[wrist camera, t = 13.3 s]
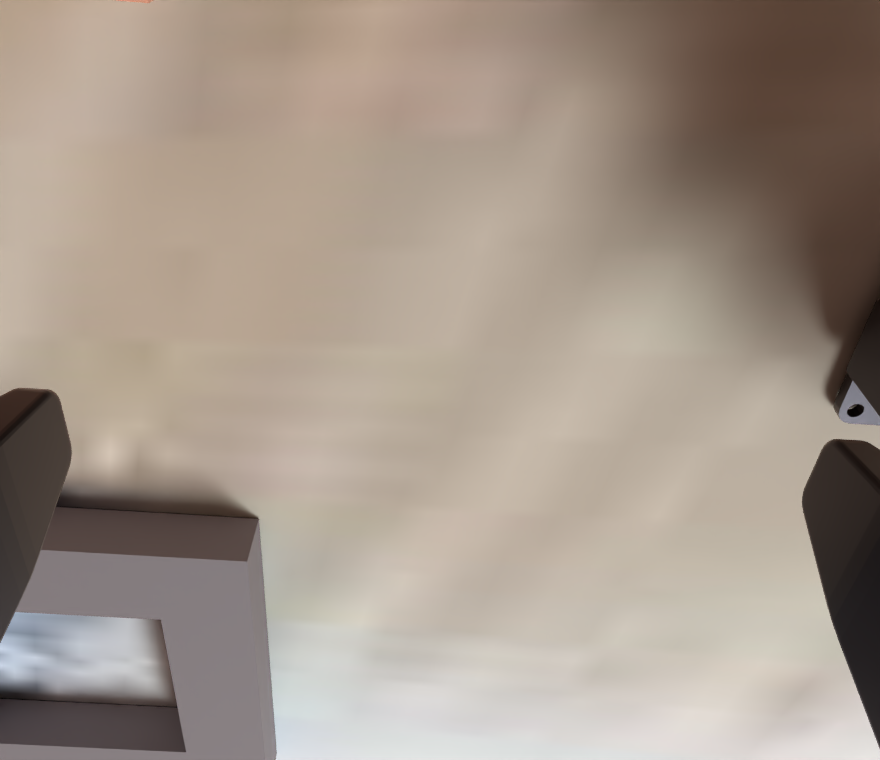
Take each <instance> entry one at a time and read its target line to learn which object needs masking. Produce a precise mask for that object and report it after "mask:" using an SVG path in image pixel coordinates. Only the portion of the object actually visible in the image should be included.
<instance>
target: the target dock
mask: <svg viewBox="0 0 880 760" xmlns="http://www.w3.org/2000/svg"><path fill="white" fill-rule="evenodd" d="M118 1H130V2H143V3H150V2H151V1H153V0H118Z"/></svg>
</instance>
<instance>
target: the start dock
mask: <svg viewBox="0 0 880 760" xmlns="http://www.w3.org/2000/svg"><path fill="white" fill-rule="evenodd" d="M15 612H27V613H45V614H64V615H83V616H101V617H120V618H139V619H157V620H161V624H162V629H163V634H164V639H165V645H166V650H167V655H168V660H169V665H170V671H171V676H172V681H173V686H174V691H175V697H176V702H177V707H178V708H175V707H155V706H135V705H115V704H95V703H74V702H54V701H34V700H14V699H0V760H275V759H276V754H277V752H276V739H275V726H274V712H273V699H272V686H271V673H270V660H269V646H268V633H267V620H266V607H265V594H264V580H263V567H262V554H261V541H260V527H259V519H253V518H236V517H219V516H202V515H185V514H168V513H151V512H134V511H117V510H100V509H83V508H65V507H56V508H55V511H54V513H53V516H52V519H51V522H50V525H49V528H48V531H47V534H46V537H45V540H44V543H43V546H42V549H41V551H40V554H39V557H38V560H37V563H36V566H35V568H34V571H33V573H32V576H31V579H30V581H29V583H28V585H27V588H26V590H25V592H24V594H23V597H22V599H21V601H20V603H19V605H18V607H17V609H16V611H15Z"/></svg>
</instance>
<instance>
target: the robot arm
mask: <svg viewBox="0 0 880 760" xmlns="http://www.w3.org/2000/svg"><path fill="white" fill-rule="evenodd" d="M854 404H857V406H856V407H854V408H852V409H849V407H850V406H852V405H854ZM834 410H835V412H836V413H837V415H838V416H839V418H840V419H841V420H842V421H843V422H846V423H851V424H867V425H880V298H879V299H878V300H877V301H876V303H875V305H874V308H873V310H872V312H871V314H870V317H869V319H868V321H867V323H866V326H865V328H864V330H863V333H862V335H861V337H860V339H859V342H858V344H857V346H856V348H855V351H854V353H853V355H852V358H851V360H850V362H849V364H848V367H847V375H846V377H845V379H844V382H843V384H842V386H841V388H840V391H839V393H838V395H837V397H836V400H835V402H834ZM71 454H72V450H71V443H70V438H69V434H68V430H67V426H66V422H65V418H64V414H63V410H62V406H61V402H60V399H59V397H58V396H57V394H56V393H55V392H53V391H52V390H48V389H33V388H17V389H14V390H11V391H9V392H8V393H6V394H4V395H2V396H0V642H1V640H2V638H3V636H4V634H5V632H6V630H7V628H8V626H9V624H10V622H11V619H12V617H13V615H14V613H15V611H16V609H17V607H18V605H19V603H20V601H21V599H22V597H23V594H24V592H25V590H26V588H27V585H28V583H29V581H30V579H31V576H32V573H33V571H34V568H35V566H36V563H37V560H38V557H39V554H40V551H41V549H42V546H43V543H44V540H45V537H46V534H47V531H48V528H49V525H50V522H51V519H52V516H53V513H54V511H55V508H56V505H57V502H58V499H59V496H60V493H61V490H62V487H63V484H64V481H65V478H66V475H67V473H68V470H69V466H70V462H71ZM802 507H803V513H804V517H805V520H806V524H807V528H808V532H809V536H810V540H811V544H812V548H813V552H814V556H815V560H816V563H817V567H818V571H819V575H820V579H821V583H822V587H823V591H824V595H825V599H826V603H827V606H828V609H829V613H830V616H831V620H832V623H833V626H834V629H835V631H836V634H837V637H838V640H839V643H840V645H841V648H842V651H843V653H844V656H845V659H846V661H847V664H848V666H849V669H850V672H851V674H852V677H853V680H854V682H855V685H856V687H857V690H858V693H859V695H860V698H861V701H862V703H863V706H864V709H865V711H866V714H867V716H868V719H869V722H870V724H871V727H872V730H873V732H874V735H875V737H876V740H877V743H878V745H879V748H880V450H879V449H878V448H876V447H875V446H873V445H871V444H870V443H868V442H865V441H860V440H844V439H833V440H831V441H829V442H827V443H826V444H825V445H824V447H823V449H822V450H821V453H820V455H819V457H818V459H817V462H816V464H815V466H814V468H813V470H812V473H811V475H810V477H809V479H808V481H807V484H806V486H805V488H804V491H803V496H802Z"/></svg>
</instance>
